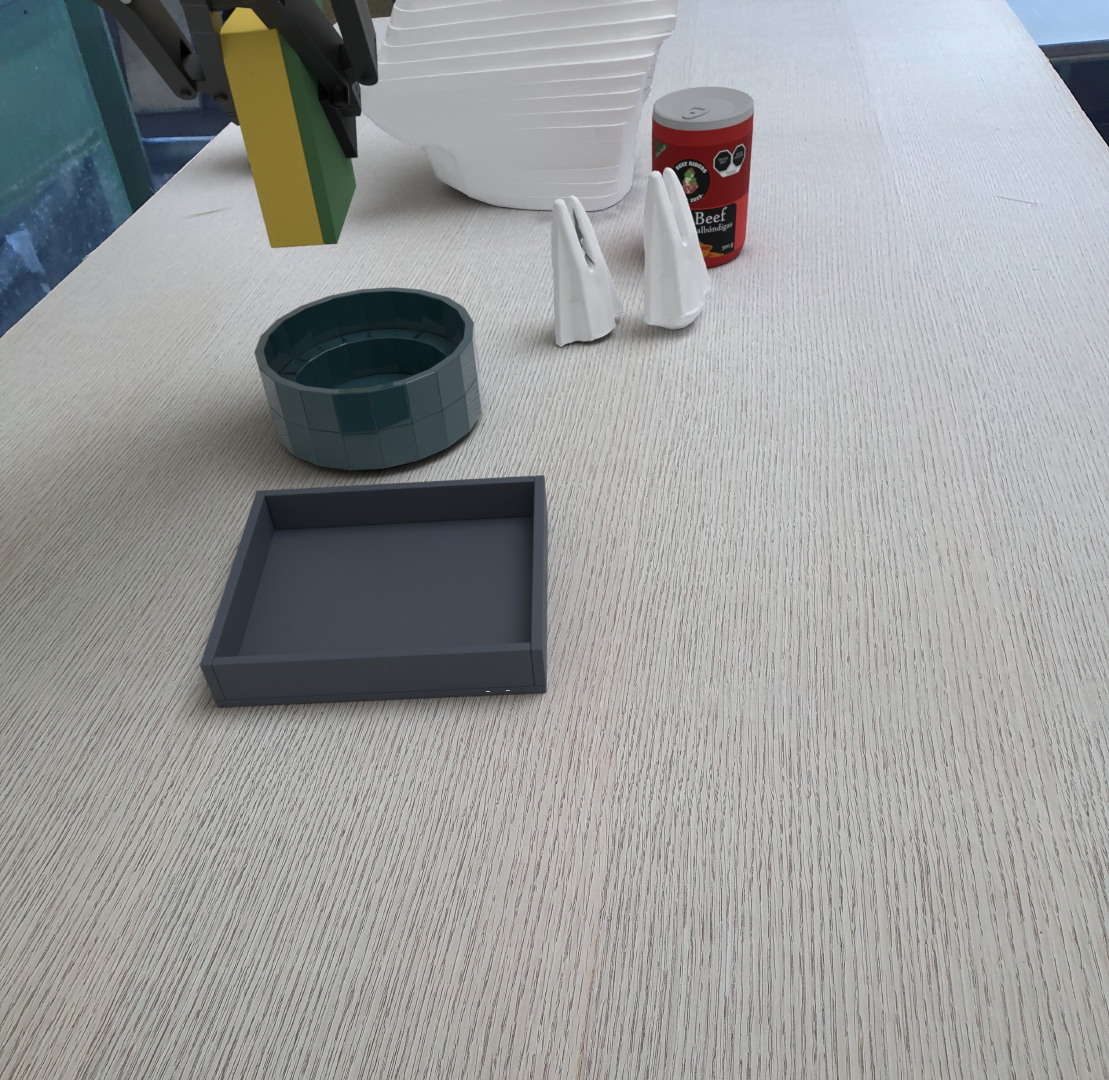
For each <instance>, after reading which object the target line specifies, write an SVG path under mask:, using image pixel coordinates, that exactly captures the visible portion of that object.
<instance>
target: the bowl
mask: <svg viewBox="0 0 1109 1080" xmlns="http://www.w3.org/2000/svg"><path fill="white" fill-rule="evenodd" d="M475 327H476V326H475V322H474V320H473V318H472V317H471V315H470V313H469V312H468V311H467V308H466V307H464V306H463V305H461V304H460V303H458V302H457V301H455V300H454V299H451V298H450V297H449V296H445V295H442V294H440V293H439V294H438V293H435V292H432V291H429V290H424V289H418V288H409V287H408V288H407V287H398V286H397V287H395V286H391V287H375V288H361V289H356V290H351V291H346V292H345V291H344V292H341V293H336V294H335V293H334V294H331V295H327V296H325V297H322V298H319V299H316V300H313V301H311V302H308V303H305V304H302V305H300V306H298V307H296V308H294V309H293V310H290V311H289V312H287V313H286V314H284V315H281V316H280V317H279V318H277V319H276V320H274V322H273V323H271V324H270V326H269V327H268V328H267V329H265V330H264V332H263V333H261V334H260V336H259V339H258V341H257V344H256V346H255V349H254V357H255V360H256V363H257V364H256V365H257V368H258V371H259V375H260V378H261V382H262V386H263V389H264V393H265V396H266V399H267V403H268V407H269V410H270V415H271V417H272V420H273V424H274V427H275V431H276V435H277V439H278V441H279V444H281V445H282V446H283V447H284V448H286V450H288V451H289V452H290V453H291V454H292V455H293V456H294V457H296V458H297V459H300V460H303V461H305V462H308V463H310V464H313V465H316V466H318V467H322V468H323V467H324V468H330V469H338V470H344V471H364V470H379V469H380V470H382V469H388V468H393V467H396V466H401V465H405V464H410V463H414V462H418V461H421V460H423V459H425V458H427V457H430V456H432V455H434V454H437V453H439V452H441V451H444V450H446V449H448V448H450V447H451V446H452V445H453V444H456V442H457V441H458V442H459V440H460V439H462V438H463V437H464V436H466V435H467V434H468V433H469V432H471V430H472V429H473V428H474V426H475V425H476V423H477V422H478V421H479V419H480V417H481V416H482V413H483V404H484V403H483V400H484V393H483V386H482V385H483V384H482V377H481V369H480V361H479V353H478V352H479V351H478V345H477V344H478V343H477V335H476V328H475Z"/></svg>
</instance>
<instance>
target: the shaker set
mask: <svg viewBox="0 0 1109 1080" xmlns="http://www.w3.org/2000/svg"><path fill="white" fill-rule="evenodd" d="M643 209H644V210H643V222H642V223H643V224H642V240H643V250H644V285H643V287H644V288H643V289H644V290H643V292H644V293H643V294H644V295H643V299H644V300H643V321H644V323H645V324H646V325H650V326H655V327H656V326H657V327H662V328H663V329H667V330H672V331H673V330H674V331H675V330H681V329H683V328H686V327H688V326H689V325H691V324H692V323H693V322H694V321H695V320H696V318H697V317H698V316H699V315H700V313H701V312H702V311H703V309H704V307H705V305H706V297H707V296H708V294H709V293H710V292H711V290H712V289H713V287H712V279H711V277H710V275H709V272H708V267H707V268H706V264H705V262H704V258H703V255H702V251H701V248H700V245H699V240H698V236H697V231H696V227H695V224H694V221H693V217H692V214H691V211H690V208H689V204H688V201H687V198H686V196H685V193H684V190H683V188H682V186H681V184H680V182H679V180H678V177H677V175H676V174H675V172H674V171H673V170H672V169H671V168H665V169H664V172H663V178H662V175H661V173H660V172H659V171H653V172H652V171H651V172H650V174H649V175H648V180H647V184H646V190H645V199H644V208H643ZM551 211H552V212H551V228H550V229H551V231H550V246H551V247H550V250H551V251H550V252H551V264H552V280H553V281H552V282H553V283H552V284H553V312H554V336H555V337H554V339H555V346H558V347H559V348H560V347H561V348H562V347H564V346H565V345H567V344H572V343H573V342H578V341H579V342H593V341H595V340H597V339H600V338H602V337H605V336H606V335H608V334H609V333H611V331H612V330H614V328H616V327H617V324H616V318H615V317H617V315H619V314H623V313H624V311H625V308H624V305H623V301H622V300H621V297H620V295H619V293H618V290H617V287H616V285H615V282H614V280H613V278H612V275H611V272H610V270H609V267H608V265H607V261H606V259H605V257H604V254H603V252H602V250H601V249H602V248H601V246H600V244H599V241H598V237H597V235H596V232H595V230H594V227H593V225H592V222H591V220H590V217H589V215H588V213H587V211H585V210H584V208H583V206H582V204H581V203H580V201H579V200H578V198H576V197H575V196H570V197H569V198H568V209H567V206H566V204H565V202H564V200H562V199H557V200H556V201H555V202H554V204H553V210H551ZM584 253H585V254H584Z"/></svg>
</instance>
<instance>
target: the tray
mask: <svg viewBox="0 0 1109 1080" xmlns="http://www.w3.org/2000/svg"><path fill="white" fill-rule="evenodd" d="M545 477H546V476H545V475H544V474H540V475H521V476H506V477H505V476H502V477H500V476H499V477H485V478H484V477H483V478H463V479H448V480H429V481H428V480H427V481H410V482H409V481H408V482H394V483H392V482H391V483H379V484H378V483H374V484H373V483H371V484H356V485H355V484H354V485H337V486H336V485H335V486H319V487H317V486H316V487H301V488H300V487H299V488H283V489H282V488H281V489H267V490H266V489H261V490H256V491H255V495H254V498H253V501H252V504H251V507H250V509H249V513H248V516H247V519H246V521H245V522H246V523H245V525H244V528H243V531H242V535H241V538H240V539H239V544H238V547H237V550H236V553H235V556H234V560H233V561H232V565H231V569H230V571H229V575H228V578H227V580H226V584H225V587H224V590H223V593H222V596H221V599H220V603H219V604H218V605H219V606H218V609H217V611H216V614H215V617H214V621H213V623H212V626H211V630H210V632H209V636H208V639H207V642H206V645H205V648H204V651H203V654H202V657H201V661H200V663H199V667H200V669H201V672H202V675H203V677H204V679H205V682H206V684H207V686H208V688H209V691H210V693H211V697H212V698H213V700H214V704H215V705H216V708H225V707H226V708H227V707H247V706H248V707H249V706H271V705H272V706H273V705H291V704H293V705H295V704H314V703H317V704H319V703H336V702H337V703H338V702H339V703H340V702H360V701H382V700H403V699H405V700H406V699H426V698H427V699H428V698H448V697H470V696H492V695H493V696H495V695H514V694H534V693H535V694H536V693H537V694H538V693H547V692H548V575H549V573H548V572H549V571H548V569H549V568H548V562H549V561H548V559H549V557H548V556H549V553H548V551H549V550H548V549H549V547H548V545H549V542H548V541H549V540H548V539H549V513H548V500H547V488H546V478H545ZM506 690H510V691H506ZM486 691H490V692H486Z"/></svg>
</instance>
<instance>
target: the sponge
mask: <svg viewBox="0 0 1109 1080" xmlns="http://www.w3.org/2000/svg"><path fill="white" fill-rule="evenodd" d="M314 1H315V2H316V4H317V5H318V6H319V8H320V9H321V10H322V12H323V13H324V7H323V2H322V0H314ZM324 14H325V13H324ZM220 37H221V45H222V52H223V60H224V65H225V69H226V73H227V77H228V81H229V85H230V89H231V93H232V96H233V100H234V104H235V108H236V112H237V116H238V120H239V124H240V126H239V127H240V132H241V136H242V140H243V143H244V147H245V151H246V155H247V159H248V164H249V163H250V167H251V168H250V167H249V168H250V171H251V175H252V179H253V183H254V186H255V191H256V194H257V199H258V203H259V206H260V210H261V215H262V218H263V222H264V226H265V230H266V234H267V238H268V242H269V245H270V249H281V248H296V247H310V246H311V247H312V246H324V245H325V246H326V245H338V243H339V239H340V238H341V234H342V231H343V228H344V225H345V221H346V220H347V215H348V213H349V209H350V207H351V203H352V201H353V197H354V195H355V192H356V188H357V181H356V176H355V171H354V165H353V161H352V160H353V159H352V158H348V159H346V157H345V155H344V153H343V150H342V148H341V146H340V144H339V142H338V140H337V138H336V136H335V134H334V132H333V130H332V127H331V125H330V123H329V121H328V119H327V117H326V115H325V113H324V111H323V109H322V106H321V104H320V102H319V97H318V79H317V77H316V76H315V75H314V74H313V73H312V71H311V70H310V69H309V68H308V67H307V65H306V64H305V63H304V62H303V61H302V59H301V58H300V57H299V55H297V53H296V52H295V51H294V50H293V49H292V47H291V46H290V45H289V44H288V43H287V41H286V40H285V39H284V38H283V37H282V35H281V34H280V33H279V32H278V31H277V29H276V28H275V29H271V30H269V29H268V28H267V27H266V26H265V25H264V23H263V22H262V21H261V20H260V19H259V18H258V16H257V15H256V14H255V13H254V12H253V10H252V9H249V8H238V7H237V8H236V9H235V10H234V12H233V13H232V14H231V16H230V17H229V18H228V20H227V21H226V22H225V24H224V25H223V26H222V28H221V31H220Z"/></svg>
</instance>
